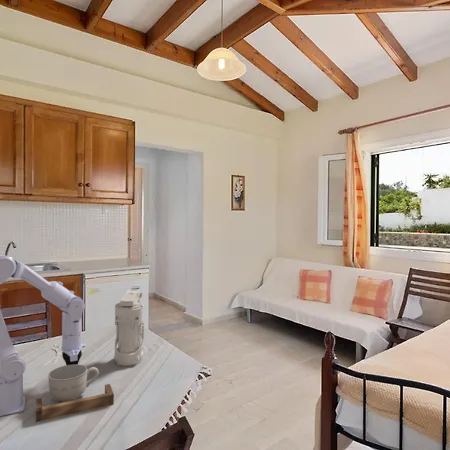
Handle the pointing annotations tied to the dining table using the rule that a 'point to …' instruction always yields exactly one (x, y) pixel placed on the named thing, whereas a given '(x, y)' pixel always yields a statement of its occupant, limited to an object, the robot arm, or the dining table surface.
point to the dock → (74, 405)
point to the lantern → (129, 329)
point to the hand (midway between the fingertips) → (72, 374)
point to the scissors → (56, 355)
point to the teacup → (70, 381)
